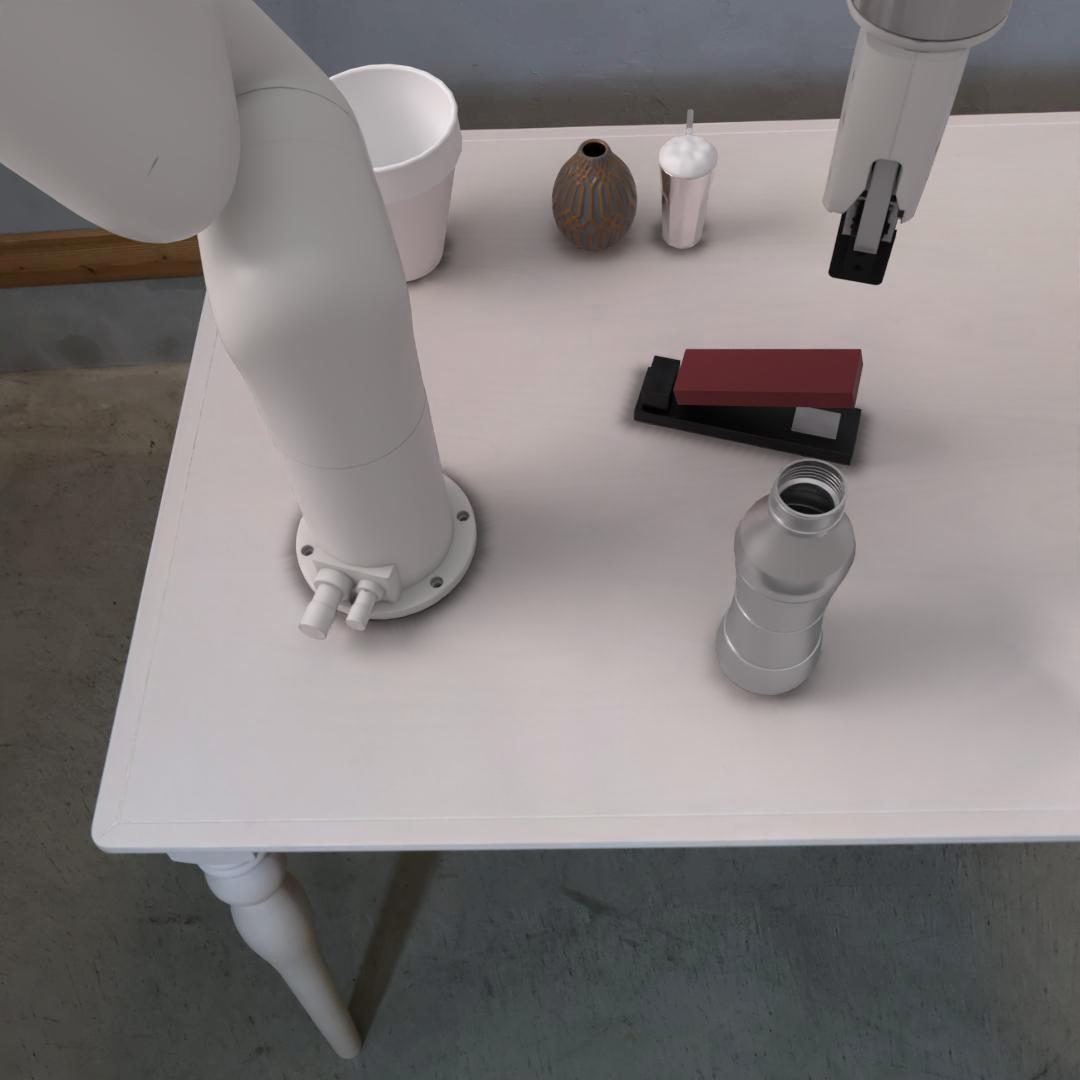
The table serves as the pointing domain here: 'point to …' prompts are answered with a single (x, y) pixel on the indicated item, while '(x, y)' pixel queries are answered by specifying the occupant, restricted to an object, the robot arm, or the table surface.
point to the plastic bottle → (786, 578)
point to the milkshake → (685, 186)
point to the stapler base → (749, 419)
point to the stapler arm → (770, 377)
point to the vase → (594, 197)
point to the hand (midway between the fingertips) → (858, 262)
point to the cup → (408, 153)
